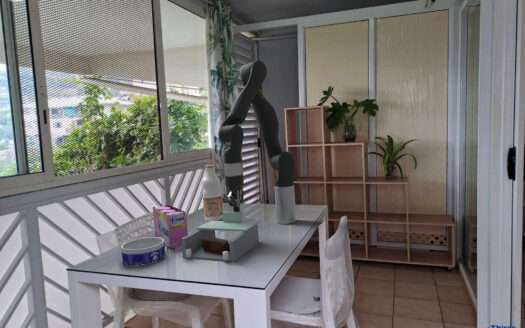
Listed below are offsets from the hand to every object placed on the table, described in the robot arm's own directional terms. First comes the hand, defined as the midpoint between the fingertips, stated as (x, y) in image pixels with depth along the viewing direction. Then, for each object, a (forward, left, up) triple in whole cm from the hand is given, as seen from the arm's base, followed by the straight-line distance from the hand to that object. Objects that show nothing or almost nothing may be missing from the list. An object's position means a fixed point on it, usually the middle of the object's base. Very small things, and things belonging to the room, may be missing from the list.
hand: (237, 215), depth 153 cm
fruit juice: (-27, -27, -10) cm, 39 cm away
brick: (+20, 0, -9) cm, 22 cm away
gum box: (+8, -28, -10) cm, 31 cm away
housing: (+15, 0, -10) cm, 18 cm away
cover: (+9, 0, -2) cm, 10 cm away
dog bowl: (+29, -25, -10) cm, 40 cm away
